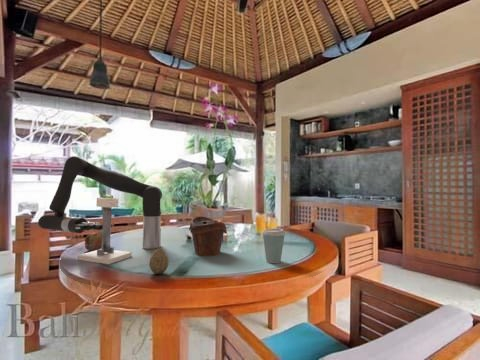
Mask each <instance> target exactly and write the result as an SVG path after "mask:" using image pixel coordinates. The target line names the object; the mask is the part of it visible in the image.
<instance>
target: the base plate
mask: <svg viewBox="0 0 480 360" xmlns="http://www.w3.org/2000/svg"><path fill="white" fill-rule="evenodd" d="M114 248H115V247H113V246H110V252H105V253H104V250H101V248H97V249H95V250H91V251H89V252H85V253H80V254H77V260H79V261H86V262H91V263H98V264H103V265H110V264H113V263H116V262H119V261H122V260H126V259H127V258H132V251H125V250H116V249H114Z"/></svg>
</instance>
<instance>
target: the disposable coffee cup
mask: <svg viewBox="0 0 480 360" xmlns="http://www.w3.org/2000/svg"><path fill="white" fill-rule="evenodd" d="M261 232H262V233H261V234H262V239H263V247H264V255H265V260H266V262H267V263H269V264H279V263H280V262H281V260H282V254H283V246H284V241H285V236H286V233H285V230H284V229H283V228H280V227H279V228H277V227H274V228H266V229H263V231H261Z"/></svg>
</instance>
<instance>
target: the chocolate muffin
mask: <svg viewBox="0 0 480 360" xmlns="http://www.w3.org/2000/svg"><path fill="white" fill-rule="evenodd" d="M189 225H190V226H189V229H188V231H190V233H191V236H192V242H193V246H194V247H193V249H194V253H195V254H196V255H197V256H209V257H211V256H216V255H219V254H220V252H221V247H222V244H223V243H222V242H223V238H224V235H225V234H226V236H227V235H228V231H227V230H228V229H227V225H226V224H225V223H224V222H221V221H219V220H216V219H212V218H209V217H205V216H196V217H194V218H193V219H192V220H191V221H190V224H189Z"/></svg>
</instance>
